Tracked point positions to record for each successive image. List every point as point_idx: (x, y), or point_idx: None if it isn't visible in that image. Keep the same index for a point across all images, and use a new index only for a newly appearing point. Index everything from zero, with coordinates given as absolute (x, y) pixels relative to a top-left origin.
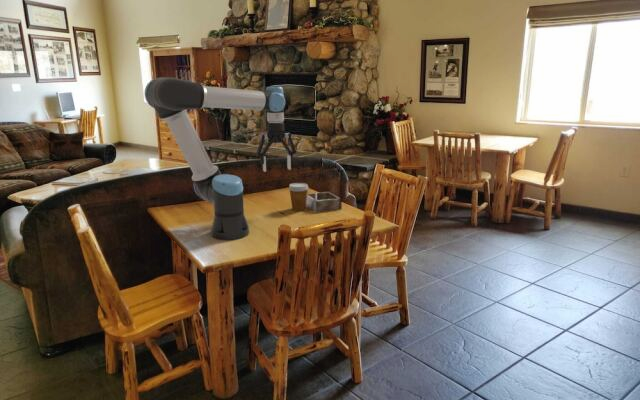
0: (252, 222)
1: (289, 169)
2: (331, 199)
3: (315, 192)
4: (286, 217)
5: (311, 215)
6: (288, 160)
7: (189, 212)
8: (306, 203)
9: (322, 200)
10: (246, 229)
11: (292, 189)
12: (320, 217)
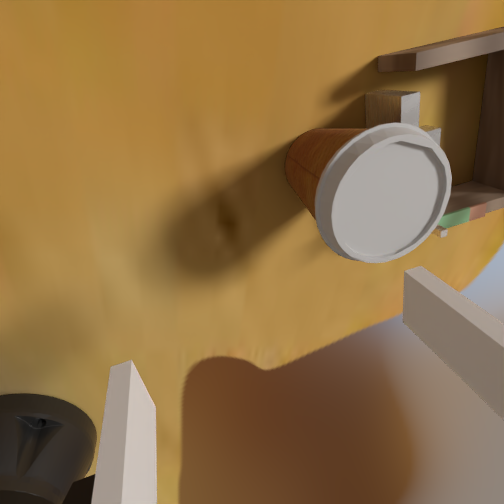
0: (90, 336)
1: (405, 321)
2: (477, 217)
3: (440, 234)
4: (240, 280)
5: (342, 261)
6: (483, 378)
7: None
8: (373, 114)
9: None
10: (88, 470)
11: (331, 247)
12: (365, 286)
